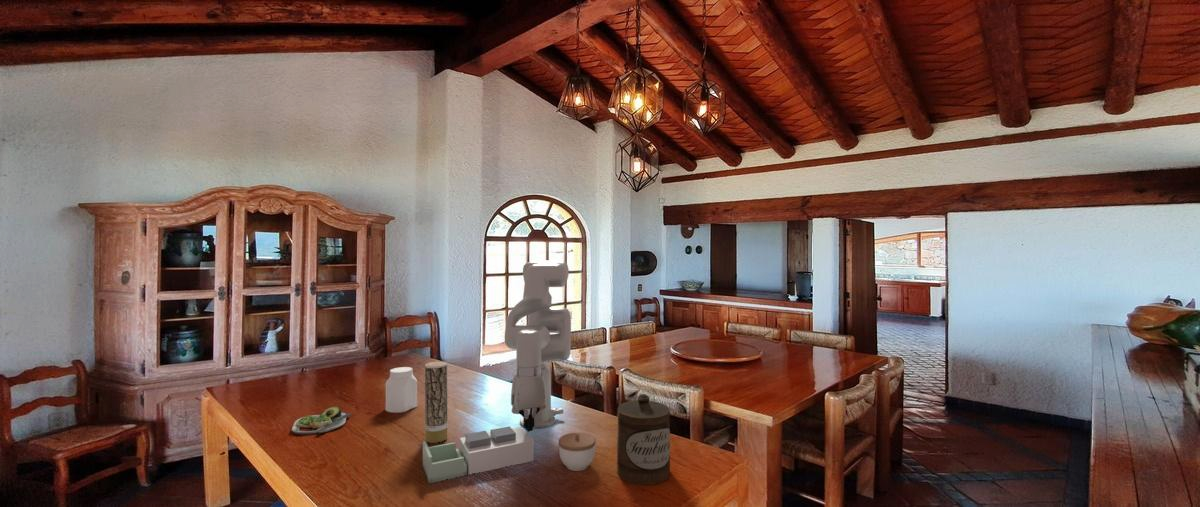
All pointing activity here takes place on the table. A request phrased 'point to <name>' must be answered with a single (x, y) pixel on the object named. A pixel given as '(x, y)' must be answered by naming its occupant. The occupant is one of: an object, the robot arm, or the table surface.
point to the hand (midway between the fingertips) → (528, 429)
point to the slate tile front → (477, 439)
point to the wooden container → (643, 441)
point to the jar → (401, 390)
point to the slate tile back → (502, 434)
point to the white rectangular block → (498, 453)
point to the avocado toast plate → (321, 421)
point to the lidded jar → (577, 450)
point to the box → (443, 462)
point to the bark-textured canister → (436, 401)
